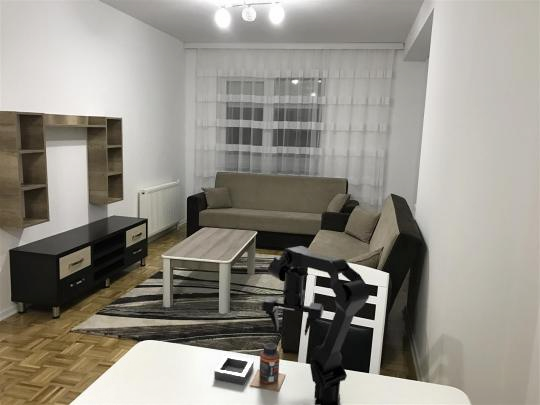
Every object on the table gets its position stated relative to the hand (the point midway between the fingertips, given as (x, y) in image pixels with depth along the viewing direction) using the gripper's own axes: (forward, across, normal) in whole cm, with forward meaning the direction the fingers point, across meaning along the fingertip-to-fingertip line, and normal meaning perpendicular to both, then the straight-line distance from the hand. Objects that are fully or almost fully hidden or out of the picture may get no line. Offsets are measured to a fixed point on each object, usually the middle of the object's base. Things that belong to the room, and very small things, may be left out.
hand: (291, 332), depth 144 cm
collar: (+13, +16, +8) cm, 22 cm away
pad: (+13, +5, +8) cm, 16 cm away
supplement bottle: (+13, +5, +8) cm, 16 cm away
